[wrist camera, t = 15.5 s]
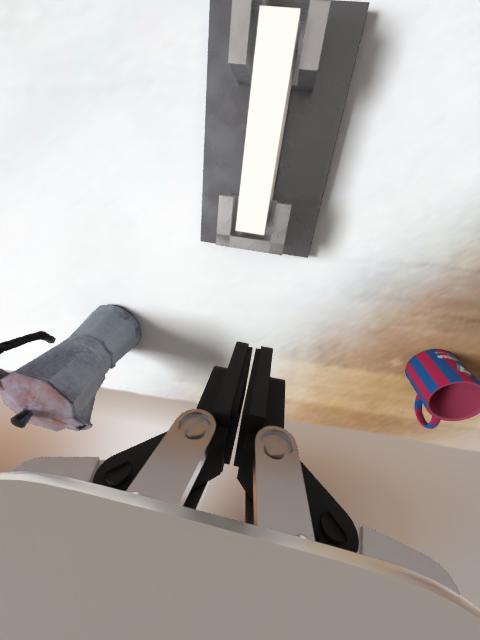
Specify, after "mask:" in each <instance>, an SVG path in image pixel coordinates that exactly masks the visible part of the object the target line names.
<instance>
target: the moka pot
mask: <svg viewBox="0 0 480 640" xmlns="http://www.w3.org/2000/svg"><path fill="white" fill-rule="evenodd" d="M140 337H141V330H140V326H139V324H138V323H137V321H136V319H135V318H134V317H133V316H132V315H131V314H130V313H129V312H127V311H126V310H124V309H122V308H120V307H118V306H114V305H102V306H99V307H98V308H97V309H96V310H95V311H94V312H93V313H92V314H91V315H90V316H89V317H88V318H87V319H86V320H85V321H84V322H83V323H82V324H81V326H80V327H79V328H78V329H77V330H76V331H75V332H74V333H73V334H72V335H71V336H70V337H69V338H68V339H66V340H65V341H63V342H62V343H60V344H59V345H57V346H55V347H54V348H52V349H50V350H49V351H47V352H46V353H44V354H42V355H41V356H39V357H37V358H36V359H34V360H32V361H31V362H29V363H27V364H26V365H24V366H22V367H21V368H19V369H17V370H16V371H14V372H11V373H8V372H6V371H4V370H3V369H0V393H1V396H2V399H3V401H4V404H5V405H6V406H8V407H9V408H10V409H11V410H13V411H14V412H15V413H17V415H15V416H14V417H13V418H11V422H12V424H13V425H15V426H17V427H20V428H23V427H25V426H26V424H27V423H30V424H33V425H37V426H41V427H43V428H47V429H51V430H54V431H59V430H62V429H65V428H67V429H72V430H76V431H80V430H87V429H89V428H91V427H92V424H91V423H90V418H91V413H92V409H93V404H94V401H95V395H96V392H97V391H98V389H99V387H100V386H101V384H102V383H103V381H104V379H105V374H106V373H107V371H108V370H109V368H111V369H112V368H113V367H115V363H116V362H117V361H118V360H119V359H121V358H122V357H123V356H124V355H125V354H126V353H127V352H129V351H130V350H131V349H132V348H133V347H134V346H135V345H137V344H138V343H139V341H140ZM40 339H41V340H45V341H47V342H48V343H54V341H55V338H54V337H53V336H50V335H49V334H47V333H46V332H42V331H40V332H36V333H33V334H28V335H25V336H23V337H19V338H16V339H13V340H10V341H6V342H2V343H0V354H1V353H3V352H4V351H7V350H10V349H12V348H16V347H19V346H21V345H22V344H25V343H27V342H31V341H35V340H40Z"/></svg>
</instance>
